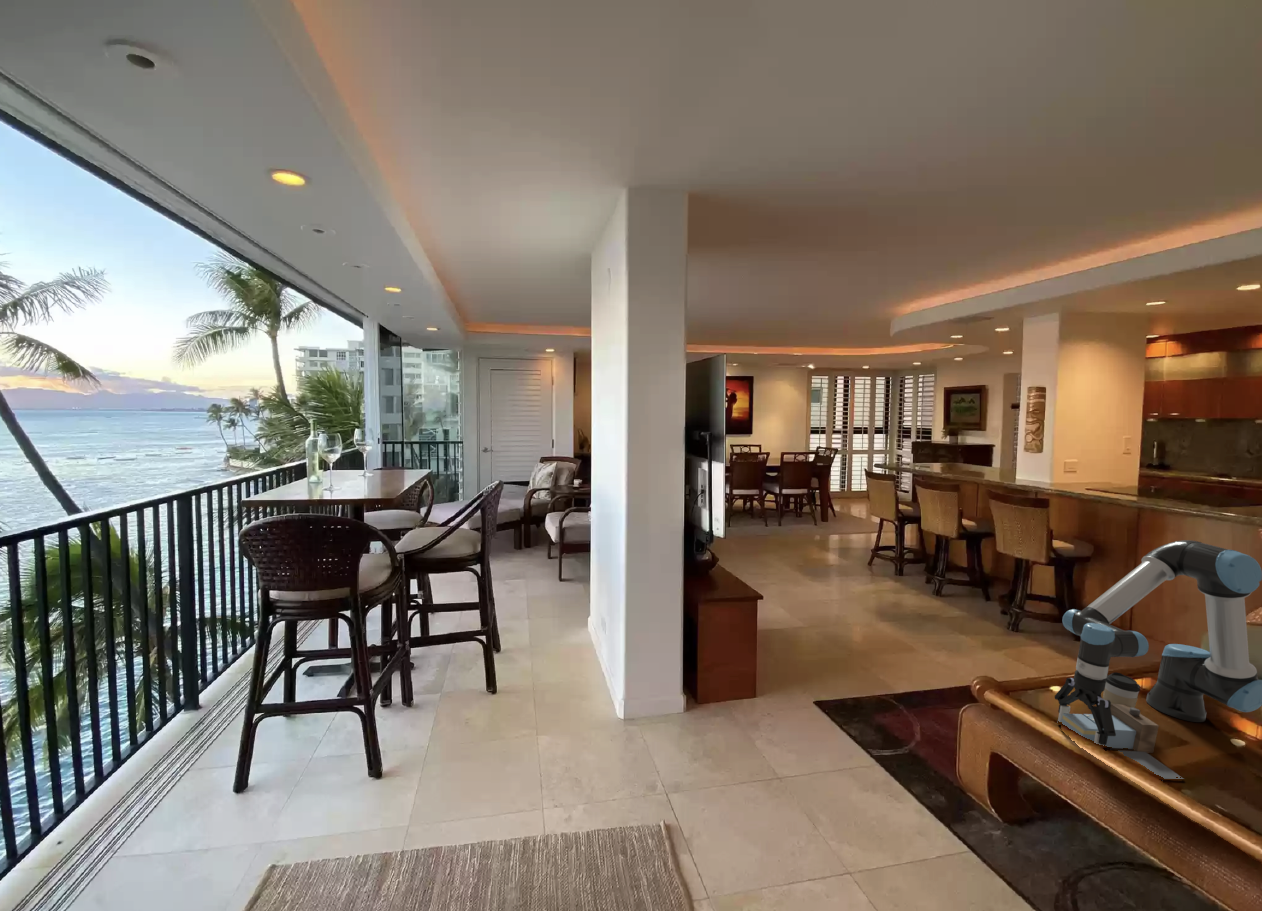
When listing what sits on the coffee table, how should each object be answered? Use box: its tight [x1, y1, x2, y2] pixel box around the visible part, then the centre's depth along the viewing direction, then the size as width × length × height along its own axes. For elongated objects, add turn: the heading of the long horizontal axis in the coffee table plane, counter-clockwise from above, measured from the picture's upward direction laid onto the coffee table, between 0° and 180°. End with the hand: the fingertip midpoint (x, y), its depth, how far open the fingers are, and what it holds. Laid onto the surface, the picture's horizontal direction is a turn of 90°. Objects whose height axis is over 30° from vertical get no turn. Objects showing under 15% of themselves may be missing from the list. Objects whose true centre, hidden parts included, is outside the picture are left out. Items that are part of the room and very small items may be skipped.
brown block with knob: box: [1110, 704, 1160, 754], centre depth 177 cm, size 5×11×11 cm, turn 2°
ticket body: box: [1082, 713, 1136, 750], centre depth 177 cm, size 14×8×6 cm, turn 92°
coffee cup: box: [1102, 671, 1141, 708], centre depth 189 cm, size 9×9×15 cm
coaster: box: [1117, 749, 1184, 779], centre depth 165 cm, size 12×12×1 cm
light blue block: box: [1062, 713, 1098, 741], centre depth 176 cm, size 6×8×6 cm
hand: (1079, 738), depth 177 cm, fingers open, 13 cm apart
